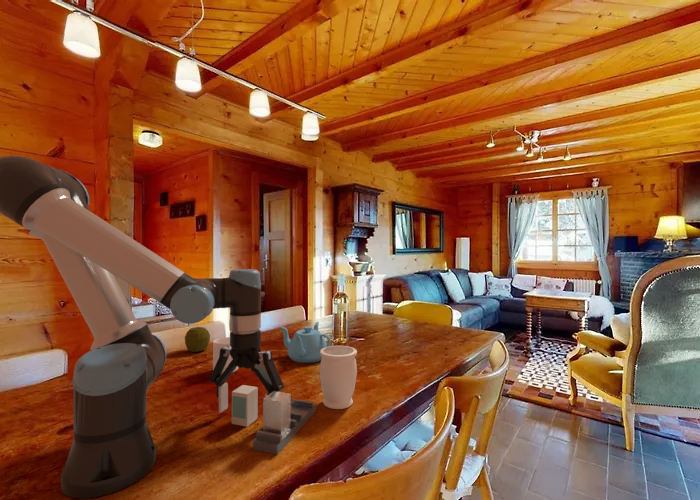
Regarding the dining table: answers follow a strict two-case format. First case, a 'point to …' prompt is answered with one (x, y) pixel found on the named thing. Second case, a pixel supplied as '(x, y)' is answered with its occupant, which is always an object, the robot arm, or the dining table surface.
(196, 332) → the olive green ball
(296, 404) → the rail
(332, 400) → the jar
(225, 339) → the mug
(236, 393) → the block
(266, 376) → the robot arm
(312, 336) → the teapot
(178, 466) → the dining table surface
